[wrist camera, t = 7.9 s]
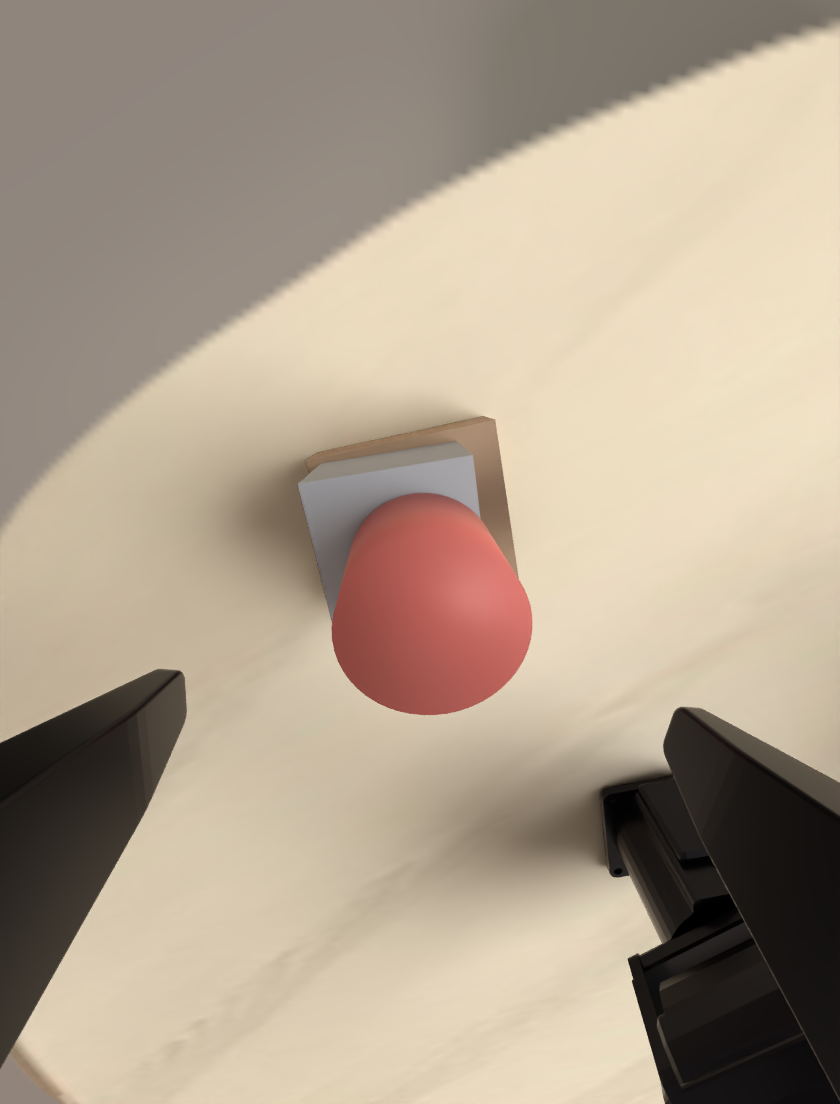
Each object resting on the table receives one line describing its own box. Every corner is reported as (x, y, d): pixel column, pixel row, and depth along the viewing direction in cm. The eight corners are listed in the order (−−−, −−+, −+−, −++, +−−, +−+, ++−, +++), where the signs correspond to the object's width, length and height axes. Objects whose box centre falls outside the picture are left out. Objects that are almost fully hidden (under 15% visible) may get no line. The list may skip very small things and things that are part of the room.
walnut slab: (505, 567, 22) (521, 594, 19) (360, 597, 22) (353, 628, 19) (481, 415, 19) (495, 419, 16) (319, 451, 20) (305, 460, 17)
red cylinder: (502, 615, 15) (539, 697, 11) (365, 639, 15) (355, 728, 11) (486, 480, 13) (524, 522, 9) (333, 507, 13) (309, 559, 9)
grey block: (472, 567, 18) (491, 613, 15) (349, 587, 18) (335, 637, 15) (456, 441, 17) (473, 455, 13) (320, 463, 17) (297, 483, 13)
